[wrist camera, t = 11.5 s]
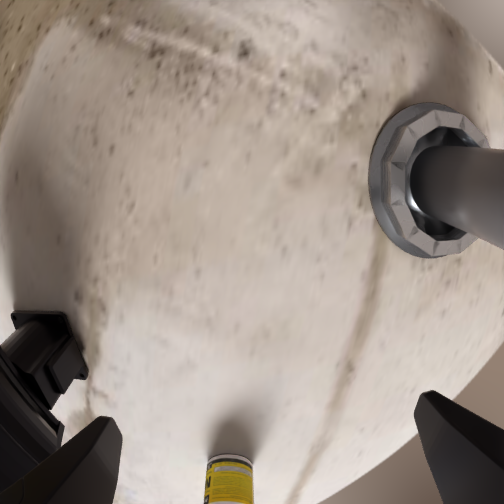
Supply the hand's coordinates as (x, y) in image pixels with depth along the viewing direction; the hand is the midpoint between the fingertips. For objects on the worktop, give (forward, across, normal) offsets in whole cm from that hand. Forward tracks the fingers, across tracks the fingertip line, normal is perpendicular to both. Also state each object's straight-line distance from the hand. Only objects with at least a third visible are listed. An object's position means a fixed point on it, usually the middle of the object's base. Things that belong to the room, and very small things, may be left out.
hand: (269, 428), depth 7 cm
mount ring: (+13, -13, -5) cm, 19 cm away
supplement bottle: (+13, +4, +22) cm, 26 cm away
